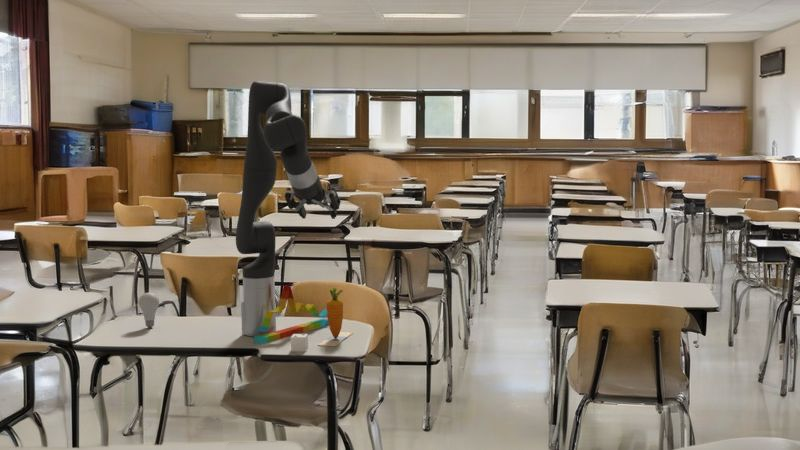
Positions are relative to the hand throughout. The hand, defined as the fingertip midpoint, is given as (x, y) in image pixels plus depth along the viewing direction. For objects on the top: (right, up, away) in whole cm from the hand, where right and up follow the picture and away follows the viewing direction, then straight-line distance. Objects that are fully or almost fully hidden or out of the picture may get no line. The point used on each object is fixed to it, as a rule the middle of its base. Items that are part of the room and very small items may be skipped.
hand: (319, 216), depth 255 cm
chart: (-10, -35, +22) cm, 43 cm away
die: (-6, -37, +2) cm, 37 cm away
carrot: (+4, -35, +13) cm, 38 cm away
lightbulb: (-55, -34, +33) cm, 72 cm away
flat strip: (+4, -35, +13) cm, 38 cm away
